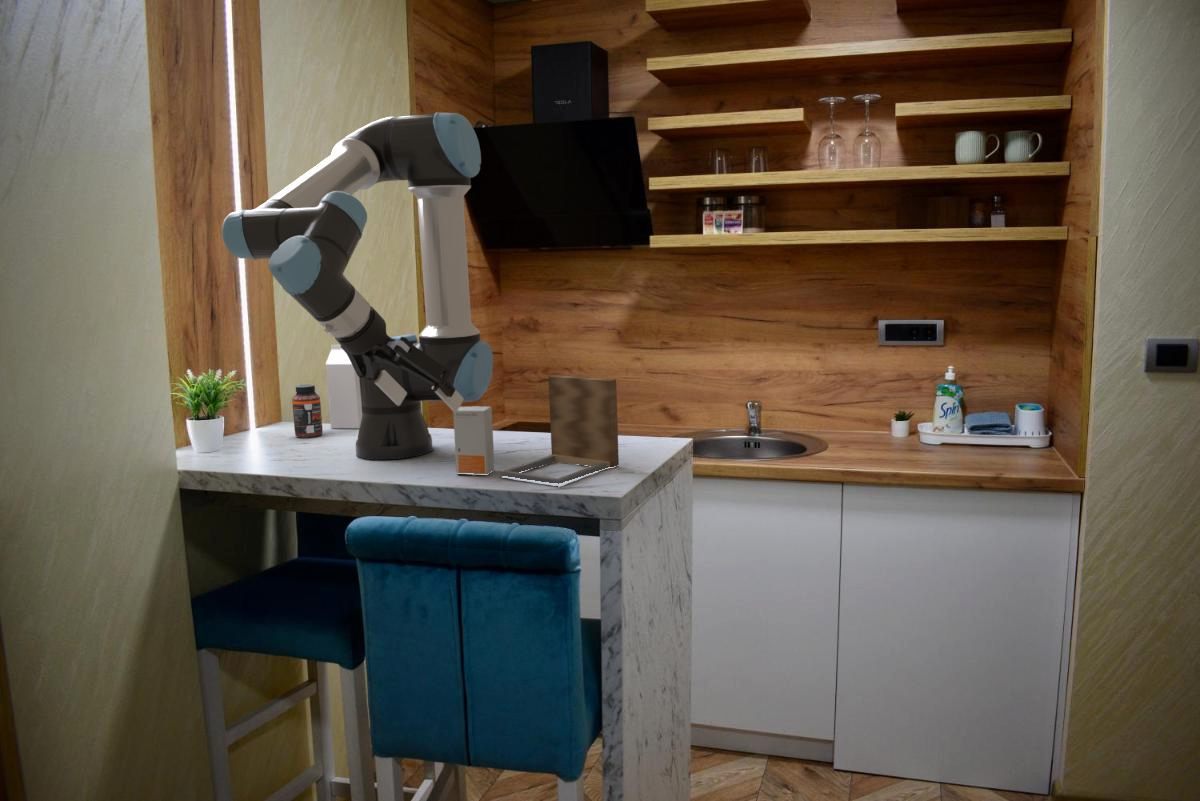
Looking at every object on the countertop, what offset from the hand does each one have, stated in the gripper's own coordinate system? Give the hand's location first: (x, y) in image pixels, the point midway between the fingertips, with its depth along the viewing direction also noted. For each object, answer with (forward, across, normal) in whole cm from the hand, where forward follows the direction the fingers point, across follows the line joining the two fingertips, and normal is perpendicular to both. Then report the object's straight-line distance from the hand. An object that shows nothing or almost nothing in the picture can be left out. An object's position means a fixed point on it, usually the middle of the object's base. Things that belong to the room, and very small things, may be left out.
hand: (429, 402), depth 158 cm
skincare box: (+18, 0, -3) cm, 18 cm away
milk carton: (+31, -57, +10) cm, 66 cm away
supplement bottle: (+23, -57, +2) cm, 61 cm away
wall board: (+29, +13, +8) cm, 32 cm away
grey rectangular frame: (+23, +13, +2) cm, 26 cm away
